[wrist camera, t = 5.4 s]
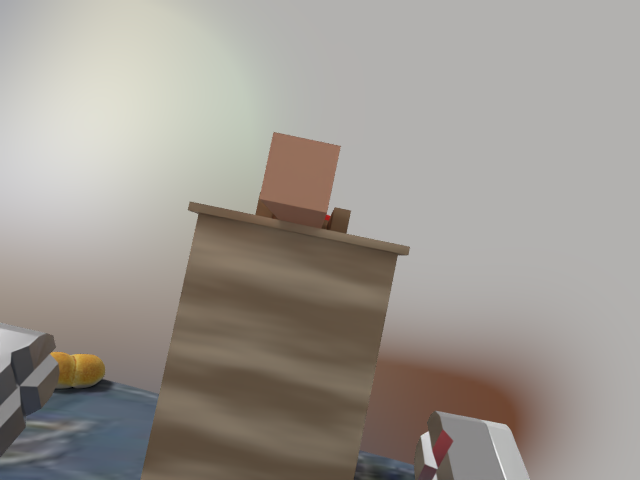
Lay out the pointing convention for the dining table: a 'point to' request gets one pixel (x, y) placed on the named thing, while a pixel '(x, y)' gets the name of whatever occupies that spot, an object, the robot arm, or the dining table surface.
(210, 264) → the stand
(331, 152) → the pinkish brown square bar
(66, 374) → the bread roll
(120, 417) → the dining table surface
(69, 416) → the dining table surface
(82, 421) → the dining table surface
